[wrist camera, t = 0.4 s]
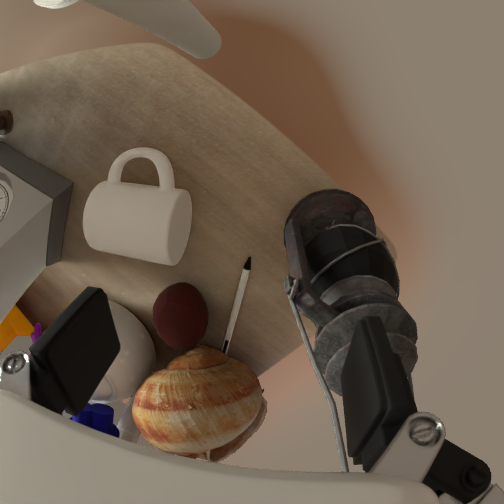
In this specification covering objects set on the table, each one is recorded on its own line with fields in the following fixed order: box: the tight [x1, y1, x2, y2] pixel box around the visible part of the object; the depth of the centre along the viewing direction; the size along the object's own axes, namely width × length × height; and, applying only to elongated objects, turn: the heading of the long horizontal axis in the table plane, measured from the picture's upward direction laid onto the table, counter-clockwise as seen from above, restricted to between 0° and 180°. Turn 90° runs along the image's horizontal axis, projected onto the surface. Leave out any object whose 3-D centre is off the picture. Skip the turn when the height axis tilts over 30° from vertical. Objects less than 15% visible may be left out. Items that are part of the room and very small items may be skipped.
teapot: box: [88, 300, 156, 405], centre depth 38 cm, size 19×18×14 cm
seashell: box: [132, 344, 267, 463], centre depth 38 cm, size 21×20×15 cm
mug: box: [83, 147, 192, 266], centre depth 30 cm, size 12×10×8 cm
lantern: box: [284, 189, 418, 472], centre depth 19 cm, size 12×11×30 cm
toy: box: [70, 403, 120, 438], centre depth 30 cm, size 9×9×15 cm
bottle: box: [117, 394, 141, 444], centre depth 41 cm, size 4×4×20 cm
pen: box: [221, 255, 251, 355], centre depth 38 cm, size 1×19×1 cm, turn 166°
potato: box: [153, 283, 208, 351], centre depth 36 cm, size 7×10×6 cm
